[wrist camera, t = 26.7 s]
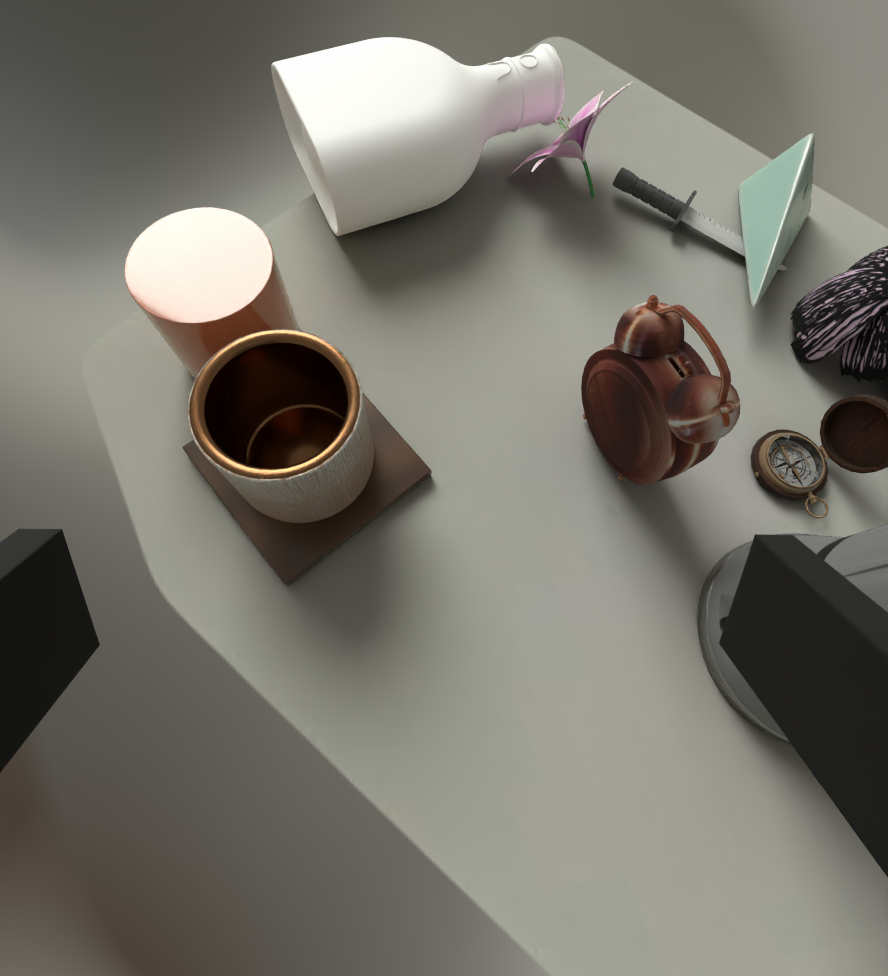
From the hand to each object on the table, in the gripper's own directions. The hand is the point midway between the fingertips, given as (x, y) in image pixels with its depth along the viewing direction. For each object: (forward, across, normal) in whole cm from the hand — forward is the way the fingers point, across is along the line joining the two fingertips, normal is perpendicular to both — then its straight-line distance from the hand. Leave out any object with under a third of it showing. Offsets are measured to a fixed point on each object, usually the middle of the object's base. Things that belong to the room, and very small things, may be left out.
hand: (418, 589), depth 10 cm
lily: (+54, +14, +12) cm, 57 cm away
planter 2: (+41, +27, +1) cm, 49 cm away
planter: (+31, -9, -10) cm, 33 cm away
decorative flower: (+40, +41, -2) cm, 57 cm away
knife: (+47, +26, +6) cm, 54 cm away
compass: (+31, +32, -11) cm, 46 cm away
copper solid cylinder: (+39, -15, -3) cm, 42 cm away
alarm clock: (+33, +17, -9) cm, 38 cm away
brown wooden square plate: (+31, -9, -11) cm, 34 cm away
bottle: (+54, +1, +13) cm, 56 cm away
